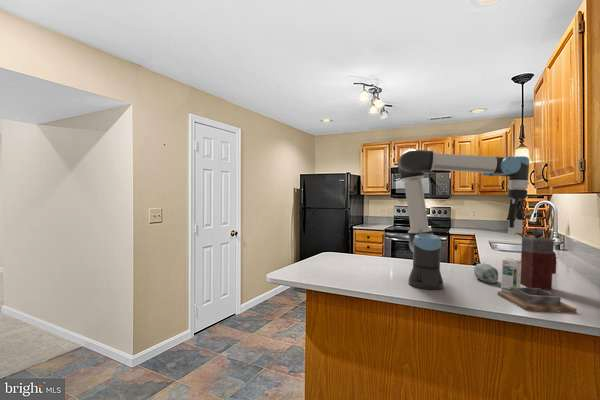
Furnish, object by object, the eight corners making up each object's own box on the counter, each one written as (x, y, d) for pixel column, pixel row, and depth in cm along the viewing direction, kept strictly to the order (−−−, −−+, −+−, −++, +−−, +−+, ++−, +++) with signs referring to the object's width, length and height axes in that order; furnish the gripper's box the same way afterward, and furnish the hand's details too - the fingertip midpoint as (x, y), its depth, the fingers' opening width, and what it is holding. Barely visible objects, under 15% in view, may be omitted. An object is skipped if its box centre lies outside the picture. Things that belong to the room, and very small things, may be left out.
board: (525, 310, 115) (526, 298, 115) (497, 294, 133) (498, 284, 133) (576, 312, 114) (576, 300, 114) (541, 296, 132) (541, 286, 132)
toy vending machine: (557, 290, 141) (560, 229, 141) (530, 289, 143) (533, 228, 142) (544, 285, 150) (547, 227, 150) (519, 283, 152) (522, 226, 151)
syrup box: (500, 290, 139) (501, 258, 139) (506, 288, 143) (507, 257, 142) (515, 294, 135) (516, 261, 134) (520, 292, 138) (521, 259, 138)
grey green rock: (506, 278, 147) (494, 259, 150) (487, 286, 148) (475, 267, 151) (495, 278, 160) (484, 260, 163) (477, 285, 161) (467, 267, 164)
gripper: (521, 188, 136) (518, 236, 136) (532, 190, 153) (530, 233, 154) (501, 188, 141) (498, 234, 142) (514, 190, 159) (512, 231, 159)
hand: (515, 233), depth 148 cm, fingers open, 13 cm apart
